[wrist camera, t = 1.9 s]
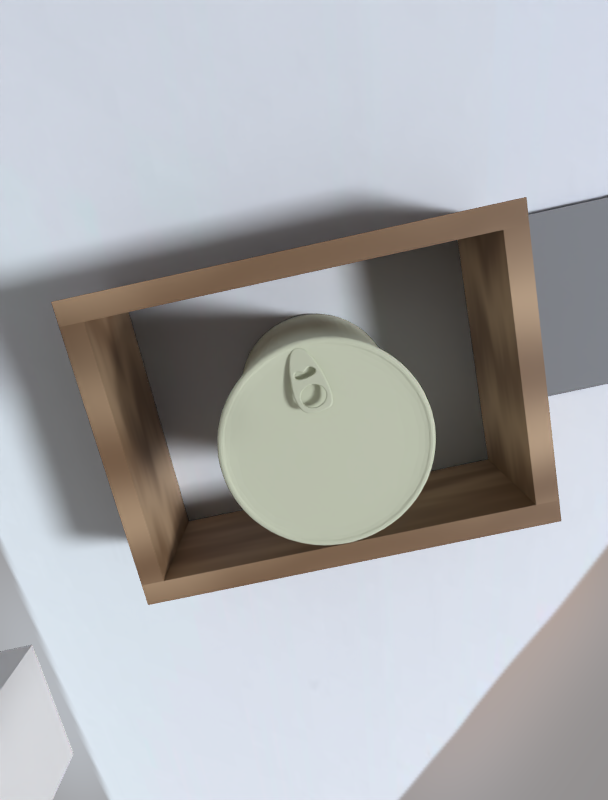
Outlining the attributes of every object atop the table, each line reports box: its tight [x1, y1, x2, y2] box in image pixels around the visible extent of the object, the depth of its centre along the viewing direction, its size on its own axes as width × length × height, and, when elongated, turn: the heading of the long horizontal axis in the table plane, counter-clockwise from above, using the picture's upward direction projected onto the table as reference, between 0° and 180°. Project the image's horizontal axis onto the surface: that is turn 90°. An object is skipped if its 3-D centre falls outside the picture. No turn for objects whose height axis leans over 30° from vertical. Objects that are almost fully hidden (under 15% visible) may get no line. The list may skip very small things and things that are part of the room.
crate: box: [51, 197, 561, 605], centre depth 30 cm, size 16×22×7 cm
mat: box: [528, 197, 608, 396], centre depth 32 cm, size 11×11×1 cm
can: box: [217, 314, 436, 545], centre depth 27 cm, size 9×9×12 cm
